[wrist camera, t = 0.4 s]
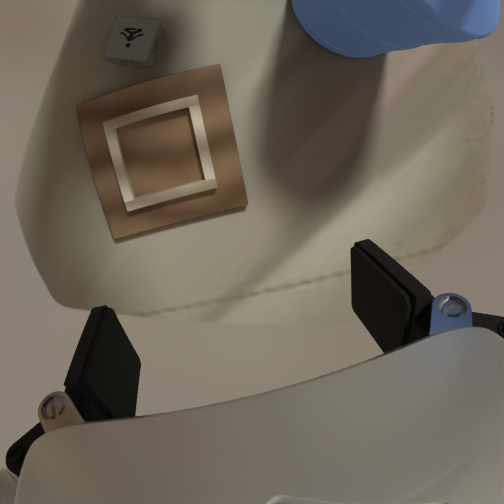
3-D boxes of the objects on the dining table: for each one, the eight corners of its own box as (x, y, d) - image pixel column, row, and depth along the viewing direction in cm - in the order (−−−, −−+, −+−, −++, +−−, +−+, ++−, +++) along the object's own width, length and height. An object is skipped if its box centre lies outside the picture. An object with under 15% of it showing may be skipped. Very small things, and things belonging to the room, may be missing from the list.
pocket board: (78, 106, 30) (72, 106, 28) (219, 65, 31) (220, 62, 29) (115, 236, 38) (112, 242, 36) (247, 202, 39) (249, 207, 38)
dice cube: (164, 31, 28) (159, 19, 24) (152, 67, 30) (146, 60, 26) (125, 27, 27) (116, 16, 22) (114, 63, 29) (103, 57, 24)
